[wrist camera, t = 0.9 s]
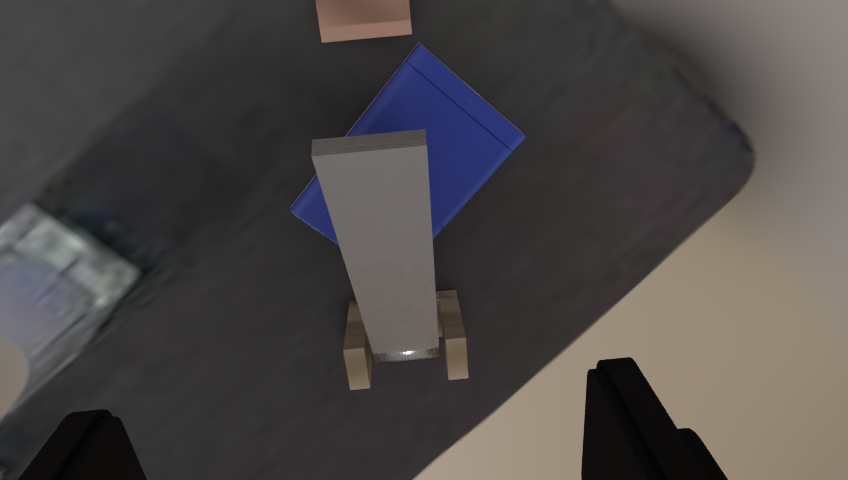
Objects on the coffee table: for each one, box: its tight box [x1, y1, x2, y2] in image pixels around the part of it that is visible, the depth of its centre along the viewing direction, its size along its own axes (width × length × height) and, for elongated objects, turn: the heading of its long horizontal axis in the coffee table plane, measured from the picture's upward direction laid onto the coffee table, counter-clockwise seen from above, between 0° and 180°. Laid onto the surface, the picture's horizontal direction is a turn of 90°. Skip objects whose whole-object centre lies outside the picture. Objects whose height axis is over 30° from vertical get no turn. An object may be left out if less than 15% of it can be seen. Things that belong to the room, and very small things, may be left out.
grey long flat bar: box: [312, 129, 440, 364], centre depth 27 cm, size 19×4×1 cm, turn 5°
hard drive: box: [290, 42, 526, 245], centre depth 33 cm, size 2×8×12 cm
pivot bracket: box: [343, 290, 468, 390], centre depth 35 cm, size 3×7×6 cm, turn 95°
